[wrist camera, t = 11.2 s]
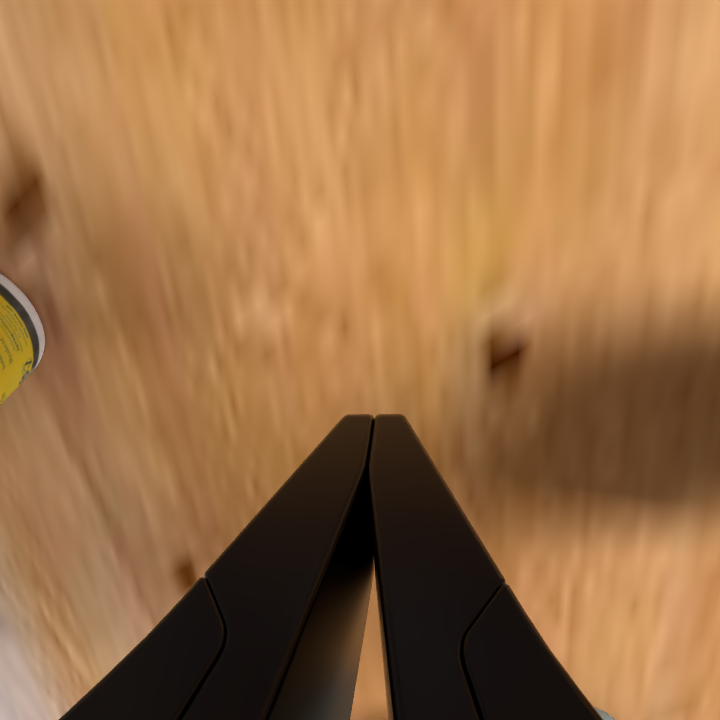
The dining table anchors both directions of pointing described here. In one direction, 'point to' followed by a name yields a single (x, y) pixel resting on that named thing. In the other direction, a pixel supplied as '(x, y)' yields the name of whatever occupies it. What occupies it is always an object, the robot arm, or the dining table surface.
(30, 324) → the supplement bottle
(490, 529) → the dining table surface
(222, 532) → the dining table surface
